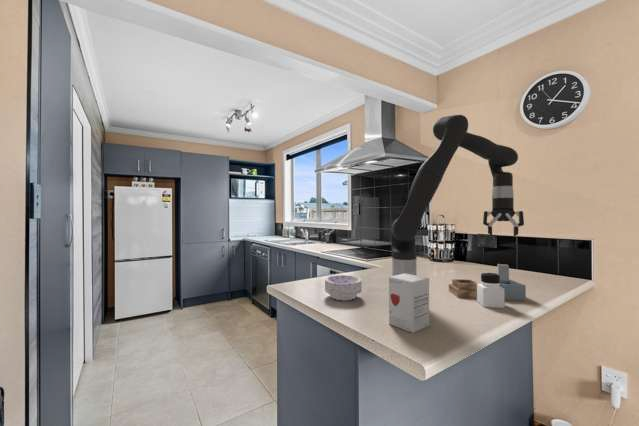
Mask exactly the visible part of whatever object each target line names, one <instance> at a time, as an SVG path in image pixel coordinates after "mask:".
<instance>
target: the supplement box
mask: <svg viewBox="0 0 639 426" xmlns="http://www.w3.org/2000/svg"><path fill="white" fill-rule="evenodd" d="M388 324H389V325H391V326H394V327H397V328H399V329H402V330H404V331H407V332H410V333H412V334H414V333H416V332H418V331H420V330H423V329H425V328H427V327H429V326H430V277H427V276H421V275H411V274H406V273H404V274H400V275H395V276H392V275H391V276H388Z"/></svg>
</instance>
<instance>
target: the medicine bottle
mask: <svg viewBox="0 0 639 426" xmlns="http://www.w3.org/2000/svg"><path fill="white" fill-rule="evenodd" d="M499 285H500V276H499V275H498V274H497V273H495V272H488V271H487V272H482V273H481V274H480V283H478V284H477V298H476V300H477V303H479V305H480V306H482V307H484V308H492V309H505V308H506V300H505V289H504V288H502V287H500V286H499Z"/></svg>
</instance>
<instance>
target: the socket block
mask: <svg viewBox="0 0 639 426" xmlns="http://www.w3.org/2000/svg"><path fill="white" fill-rule="evenodd" d="M477 284H479V283H478V282H476V281H474V280H472V279H468V278H467V279H466V278H465V279H464V278H463V279H460V278H459V279H455V278H452V279H451V283H448V292H449V293H451V294H452V295H453V296H454V297H456V298H469V299H471V298H472V299H474V298H475V299H477Z"/></svg>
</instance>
